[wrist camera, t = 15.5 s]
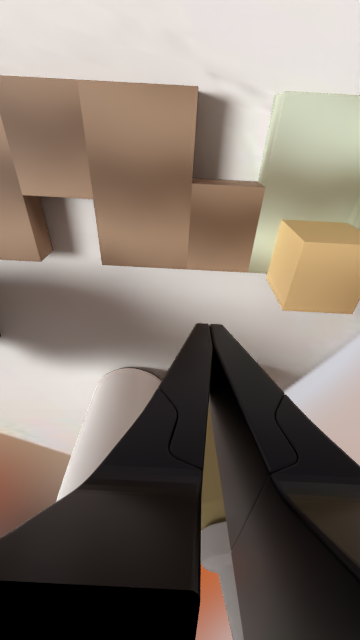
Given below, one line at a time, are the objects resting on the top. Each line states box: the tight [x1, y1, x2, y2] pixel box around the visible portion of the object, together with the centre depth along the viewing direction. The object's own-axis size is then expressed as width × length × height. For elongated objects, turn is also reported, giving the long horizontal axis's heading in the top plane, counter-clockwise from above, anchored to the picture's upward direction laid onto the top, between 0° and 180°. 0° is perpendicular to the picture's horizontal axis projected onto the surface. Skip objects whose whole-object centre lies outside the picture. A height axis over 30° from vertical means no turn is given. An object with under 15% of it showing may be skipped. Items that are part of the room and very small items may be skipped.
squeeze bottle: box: [201, 407, 244, 640], centre depth 21 cm, size 8×8×18 cm
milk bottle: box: [56, 368, 161, 502], centre depth 21 cm, size 8×8×20 cm
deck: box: [0, 75, 360, 274], centre depth 16 cm, size 10×27×3 cm, turn 87°
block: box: [266, 219, 360, 314], centre depth 16 cm, size 4×4×4 cm
